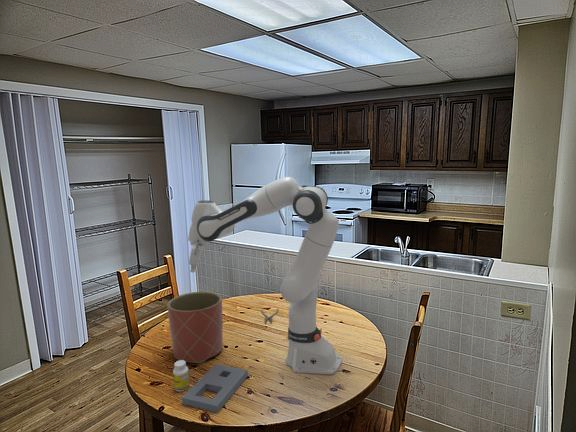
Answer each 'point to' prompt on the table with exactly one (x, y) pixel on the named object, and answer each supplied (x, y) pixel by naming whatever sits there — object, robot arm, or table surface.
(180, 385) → the supplement bottle
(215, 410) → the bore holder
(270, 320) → the pliers
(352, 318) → the table surface
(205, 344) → the planter
